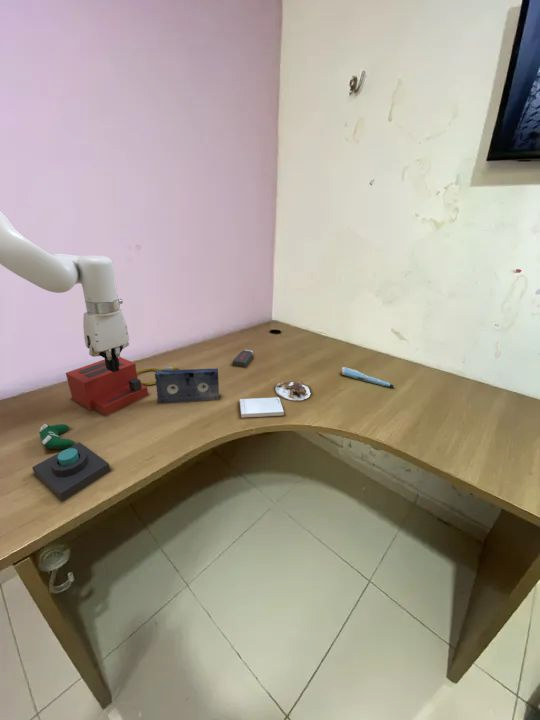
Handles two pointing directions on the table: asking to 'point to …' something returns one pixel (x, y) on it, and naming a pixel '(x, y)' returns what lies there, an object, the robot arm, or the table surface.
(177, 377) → the vhs cassette tape
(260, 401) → the hard drive
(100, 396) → the toaster
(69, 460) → the button
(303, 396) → the plate of food
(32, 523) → the table surface
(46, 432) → the green piece
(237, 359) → the usb drive
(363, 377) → the light blue tapered rod
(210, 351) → the table surface
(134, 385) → the toaster slider
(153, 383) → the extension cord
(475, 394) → the table surface
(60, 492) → the control block
